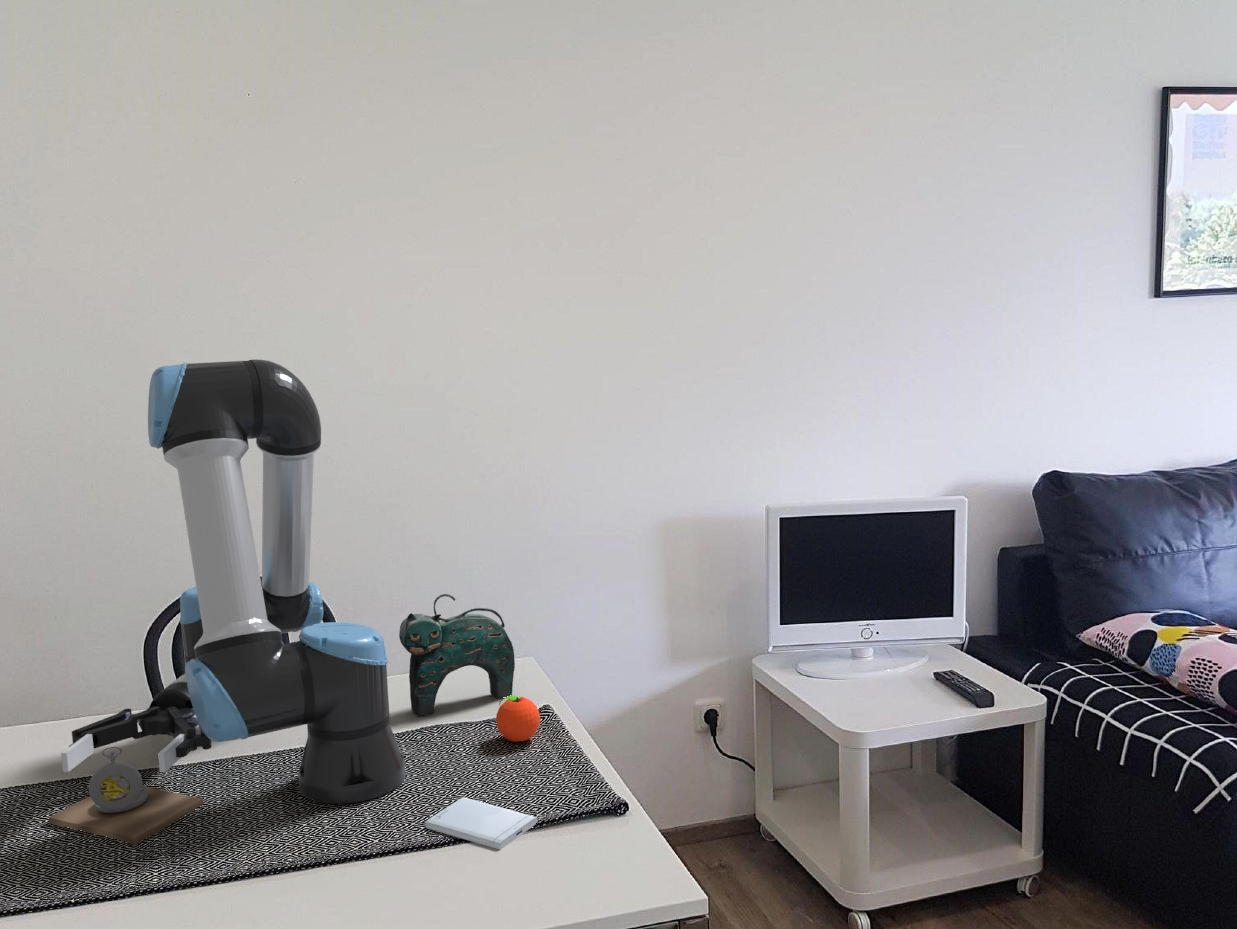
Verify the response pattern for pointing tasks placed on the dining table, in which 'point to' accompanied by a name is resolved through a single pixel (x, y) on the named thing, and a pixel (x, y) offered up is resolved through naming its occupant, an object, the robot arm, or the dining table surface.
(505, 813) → the hard drive
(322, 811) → the dining table surface
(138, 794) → the pocket watch
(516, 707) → the clementine
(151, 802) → the walnut board
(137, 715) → the robot arm
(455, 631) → the ceramic cat
